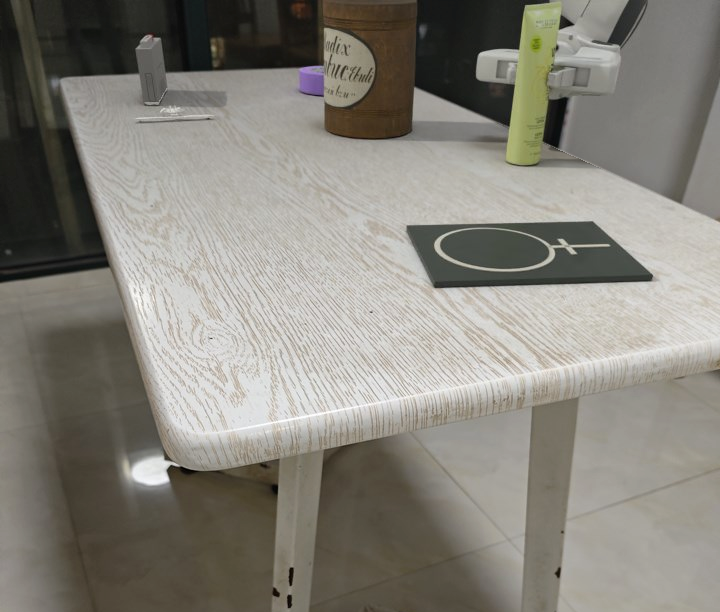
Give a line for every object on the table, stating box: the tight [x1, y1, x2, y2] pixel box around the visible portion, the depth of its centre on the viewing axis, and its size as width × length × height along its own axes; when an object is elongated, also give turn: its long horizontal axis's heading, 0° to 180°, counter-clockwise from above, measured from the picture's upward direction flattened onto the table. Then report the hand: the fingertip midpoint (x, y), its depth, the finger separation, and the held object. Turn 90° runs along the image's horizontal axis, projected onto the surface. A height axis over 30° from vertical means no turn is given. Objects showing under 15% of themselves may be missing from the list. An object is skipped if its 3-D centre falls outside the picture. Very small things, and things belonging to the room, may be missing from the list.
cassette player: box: [134, 34, 168, 103], centre depth 134 cm, size 16×3×10 cm, turn 6°
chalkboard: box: [405, 220, 654, 288], centre depth 75 cm, size 22×16×1 cm
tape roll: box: [298, 65, 324, 96], centre depth 144 cm, size 12×12×4 cm
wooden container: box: [322, 0, 418, 139], centre depth 112 cm, size 15×15×22 cm
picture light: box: [135, 105, 216, 119], centre depth 122 cm, size 14×4×2 cm, turn 108°
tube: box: [505, 1, 562, 166], centre depth 98 cm, size 6×5×20 cm
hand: (532, 78), depth 96 cm, fingers closed on tube, 4 cm apart
